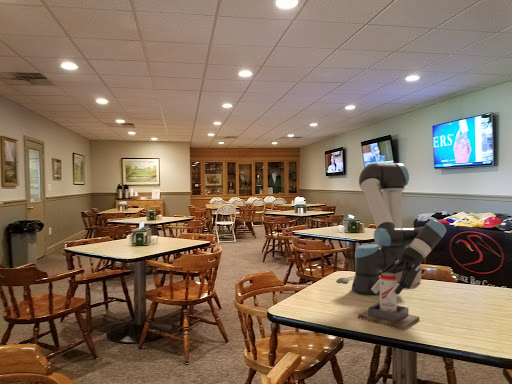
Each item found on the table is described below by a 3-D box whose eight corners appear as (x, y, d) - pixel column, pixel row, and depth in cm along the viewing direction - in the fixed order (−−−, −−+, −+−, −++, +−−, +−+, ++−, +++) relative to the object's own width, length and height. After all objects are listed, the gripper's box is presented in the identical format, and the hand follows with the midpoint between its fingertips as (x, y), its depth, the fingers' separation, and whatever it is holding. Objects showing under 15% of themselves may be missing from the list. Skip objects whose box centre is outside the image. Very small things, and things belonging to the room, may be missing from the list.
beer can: (398, 318, 130) (398, 276, 130) (381, 317, 131) (380, 275, 132) (395, 313, 136) (394, 272, 137) (378, 312, 137) (378, 271, 138)
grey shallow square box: (368, 315, 134) (368, 307, 134) (381, 308, 141) (381, 301, 141) (395, 322, 126) (395, 314, 126) (408, 315, 133) (408, 307, 133)
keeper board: (358, 318, 135) (358, 314, 135) (375, 309, 145) (375, 306, 145) (403, 330, 122) (403, 326, 122) (419, 320, 132) (419, 316, 132)
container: (418, 287, 180) (418, 264, 180) (383, 282, 190) (382, 261, 190) (423, 280, 195) (423, 259, 195) (390, 276, 205) (389, 256, 205)
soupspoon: (333, 284, 192) (343, 287, 187) (333, 278, 192) (343, 280, 187) (354, 276, 207) (364, 278, 202) (354, 270, 207) (364, 273, 202)
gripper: (442, 264, 126) (405, 310, 123) (403, 254, 148) (371, 293, 145) (430, 250, 125) (392, 297, 122) (392, 242, 147) (359, 281, 143)
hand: (381, 295), depth 133 cm, fingers open, 10 cm apart
